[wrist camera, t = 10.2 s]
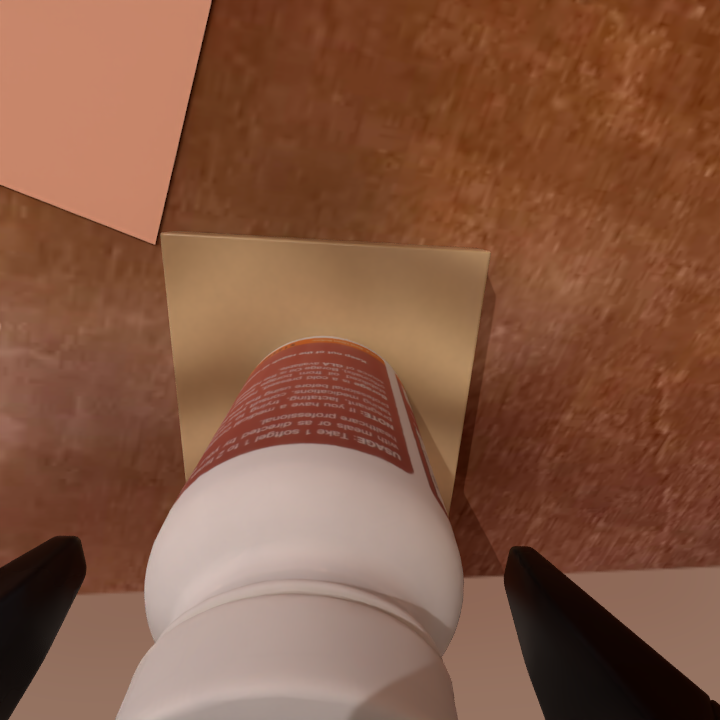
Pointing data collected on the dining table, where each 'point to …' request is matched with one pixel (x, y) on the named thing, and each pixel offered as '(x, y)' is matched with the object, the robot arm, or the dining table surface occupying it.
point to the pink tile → (97, 103)
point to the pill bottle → (305, 557)
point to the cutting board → (323, 322)
